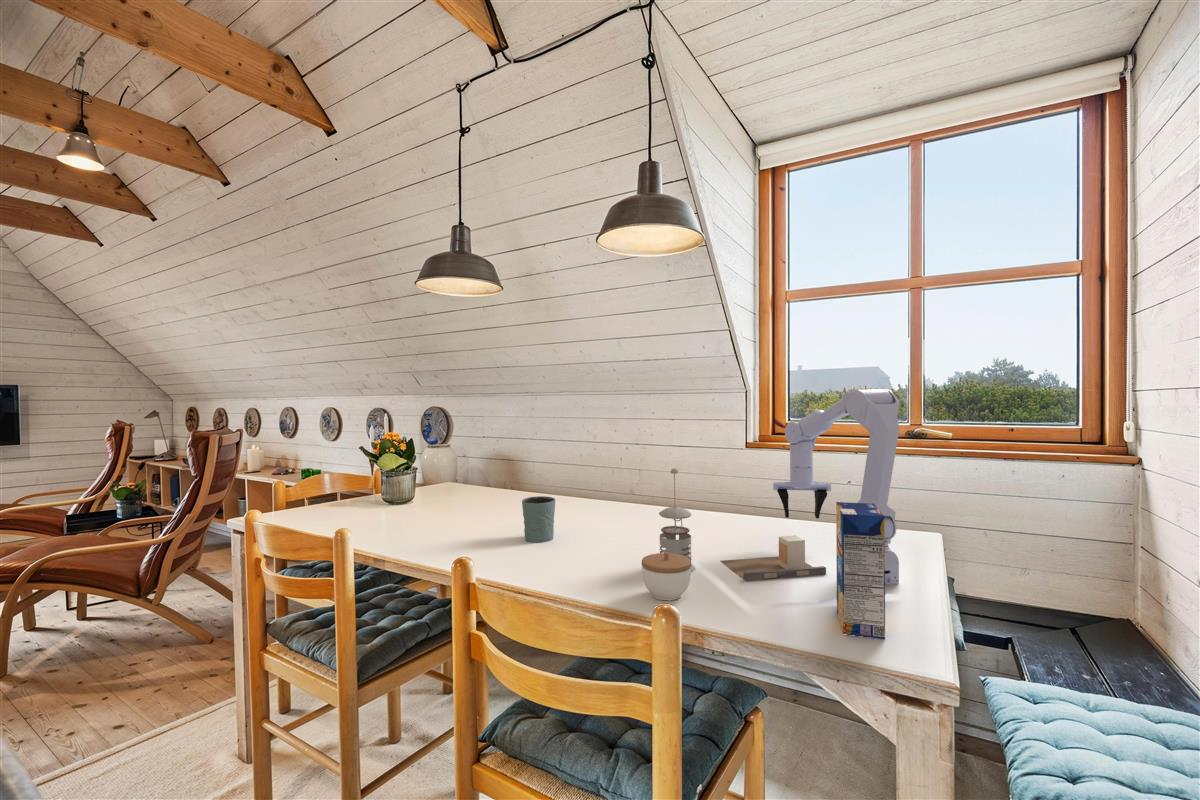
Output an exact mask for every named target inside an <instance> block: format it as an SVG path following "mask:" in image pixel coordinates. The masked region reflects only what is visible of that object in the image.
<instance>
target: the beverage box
mask: <svg viewBox="0 0 1200 800" xmlns="http://www.w3.org/2000/svg"><path fill="white" fill-rule="evenodd" d="M835 504H836V505H835V507H836V508H835V509H836V513H835V517H836V521H835V522H836V523H835V524H836V525H835V527H836V530H835V532H836V539H835V540H836V614H837V617H838V621H839V624H840V628H841V632H842V635H843V634H847V635H846V636H849V635H855V636H854V637H858V636H863V637H862V638H867V637H869V638H868V639H876V638H877V639H876V640H886V585H885V516H884V515H883V514H882V512H881V511H880V510H879V509H878V508H877V506H876V505H875V504H870V503H857V502H843V501H836V502H835ZM870 637H871V638H870Z"/></svg>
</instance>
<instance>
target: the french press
mask: <svg viewBox="0 0 1200 800" xmlns="http://www.w3.org/2000/svg"><path fill="white" fill-rule="evenodd" d="M670 474H673V490H674V491H673V492H674V495H673V496H674V499H673V500H674V504H673V505H674V506H669V507H665V508H664V509H663V510H661V511H660V512H658V515H659V516H660V517H662V518H665V519H670V520H673V521H674V525H667V526H663V527H662V528H660V531H661V532H662V533H660V534H659V553H664V552H668V553H672V554H679V555H683V556H686V557H688V558H689V559H690V560H691V561H692V535H691V534H690V533H689V532H690V531H691V530H690V528H688V527H687V526H683V519H687V518H690V517H691V516H692V515H693V514H692V512H690V511H689V510H688V509H685V508H682V507H680V506H676V474H679V470H678V468H671V470H670ZM677 522H681V523H680V524H681V525H677ZM677 536H678V539H677ZM694 571H696V567H695V565H694V564H692V563H691V573H694Z"/></svg>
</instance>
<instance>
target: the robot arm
mask: <svg viewBox="0 0 1200 800" xmlns="http://www.w3.org/2000/svg"><path fill="white" fill-rule="evenodd" d="M899 408H900V400H899V399H898V398H897V396H896V395H895V393H894V392H893V391H892V390H890V389H888V388H881V389H852V390H850V391H849V392H846V393H844V394H842V397H841V398H840V399H839V400H837V401H836V402H835V403H834V404H832V405H831V406H829V407H828V408H826V409H825V410H823V409H812V410H811V412H810V414H809V415H807V416H803V417H801V418H800V420H799V421H798V422H796V421H790V422H788V424H786V426H785V429H784V435H785V436H784V437H785V439H786V440H787V442H788V443H789V475H790V476H789V477H790V478H789V479H790V480H789V481H773V482H772V489H773V490H772V491H777V494H778V496H779V498H780V500H781V503H782V507H783V510H784V511H783V512H784V516H785V518H787V519H788V518H789V517H790V513H789V512H790V510H789V495H790V494H789V492H788V491H813V492H814V517H815V519H820V515H821V514H820V513H821V512H822V511H821V510H822V507H823V504H824V502H825V500H826V498H827V496H828V492H832V484H831V483H830V482H819V481H817V482H816V481H814V479H813V478H814V474H813V473H814V472H813V471H814V470H813V469H814V468H813V467H814V466H813V465H814V463H813V459H814V458H813V453H814V452H813V450H814V449H815V446H816V444H815V443H816V441H817V438H818V436H820V435H823V434H824V433H826V432H828V431H830V430H831V429H832V427H833V425H834V424H833V423H834V422H837V421H839V420H840V419H842V418H845V417H847V416H850V417H851V418H852V419H854V420H855V422H857V423H858V424H860V425H861V427H863V428H864V429H866V431H868V433H869V439H868V448H867V452H866V458H865V459H866V460H865V465H864V472H863V473H864V474H863V480H862V487H861V492H860V493H861V494H860V499H859V500H858V501H857V502H856V503H870V504H875V505H876V506H877V508H878V509H879V510H880V511H881V512H882V514H883V515H884V516H885V586H890V585H892V586H893V585H899V584H900V574H899V573H900V570H899V569H900V561H899V557H898V555H897V554H896V552H894V551H892V550H891V548H890V546H889V545H890V544H892V542H891V540H892V539H894V537H895V536H896V534H897V524H896V511H895V510H894V509H893V508H892V507H891V506H890V505H889V504H888V501H889V495H890V490H891V483H892V476H893V471H894V464H895V458H896V452H897V446H898V445H897V444H898V440H899V433H900V425H899V420H898V418H899V417H898V414H899Z"/></svg>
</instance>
